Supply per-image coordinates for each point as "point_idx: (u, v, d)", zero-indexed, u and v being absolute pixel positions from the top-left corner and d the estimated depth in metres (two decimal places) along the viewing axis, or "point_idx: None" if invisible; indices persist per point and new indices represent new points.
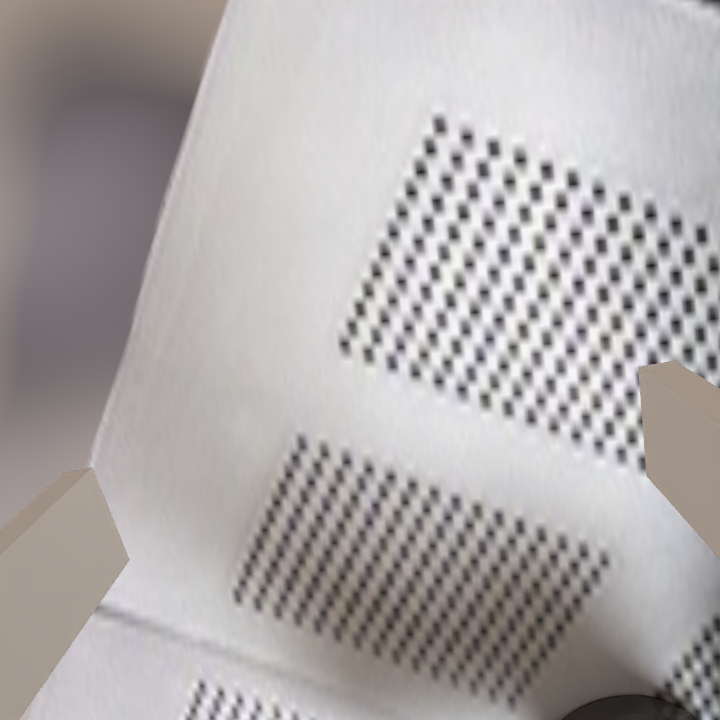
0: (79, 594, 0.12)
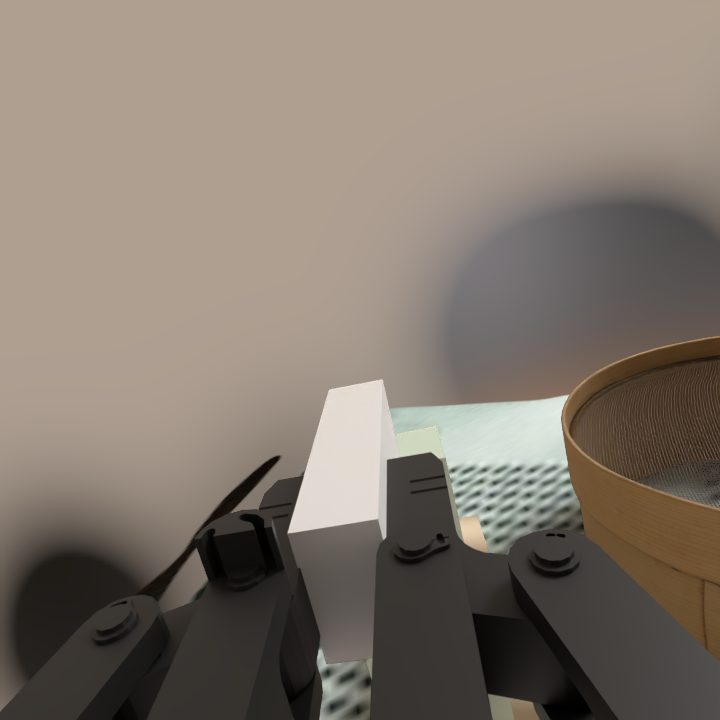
0: None
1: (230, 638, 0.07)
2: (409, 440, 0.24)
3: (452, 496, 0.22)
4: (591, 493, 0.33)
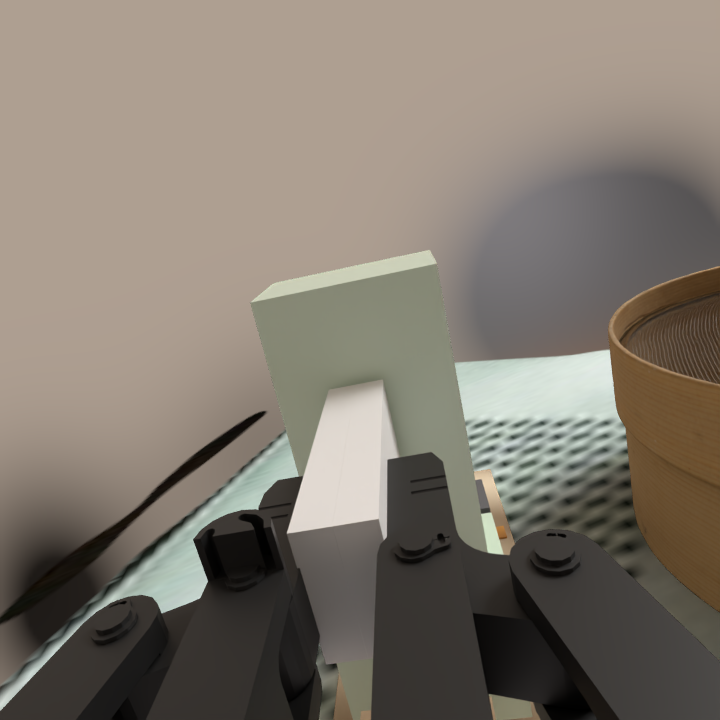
0: None
1: (230, 638, 0.07)
2: (387, 262, 0.16)
3: (446, 331, 0.15)
4: (652, 417, 0.24)
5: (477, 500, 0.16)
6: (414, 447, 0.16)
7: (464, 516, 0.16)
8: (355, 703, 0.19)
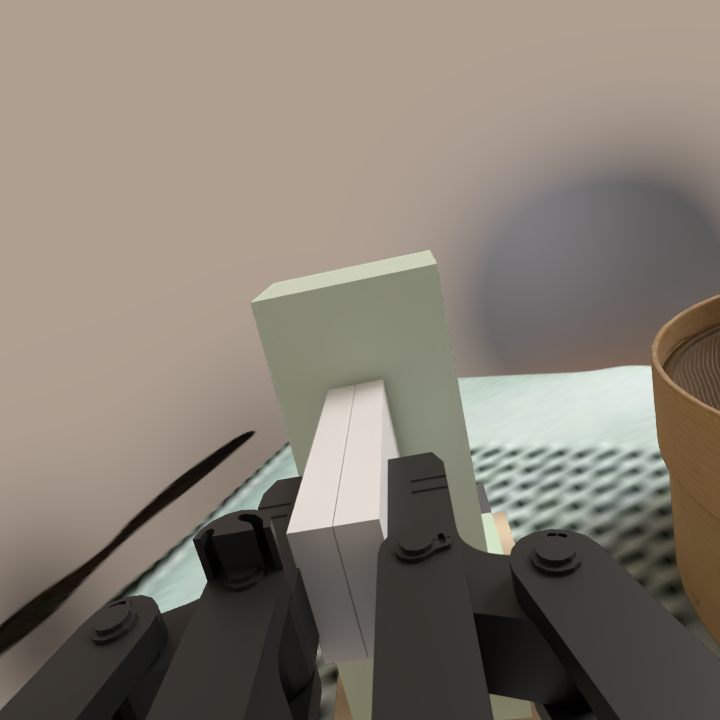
0: None
1: (229, 638, 0.07)
2: (387, 262, 0.16)
3: (446, 331, 0.15)
4: (718, 477, 0.19)
5: (477, 500, 0.16)
6: (414, 447, 0.16)
7: (464, 516, 0.16)
8: (355, 703, 0.19)
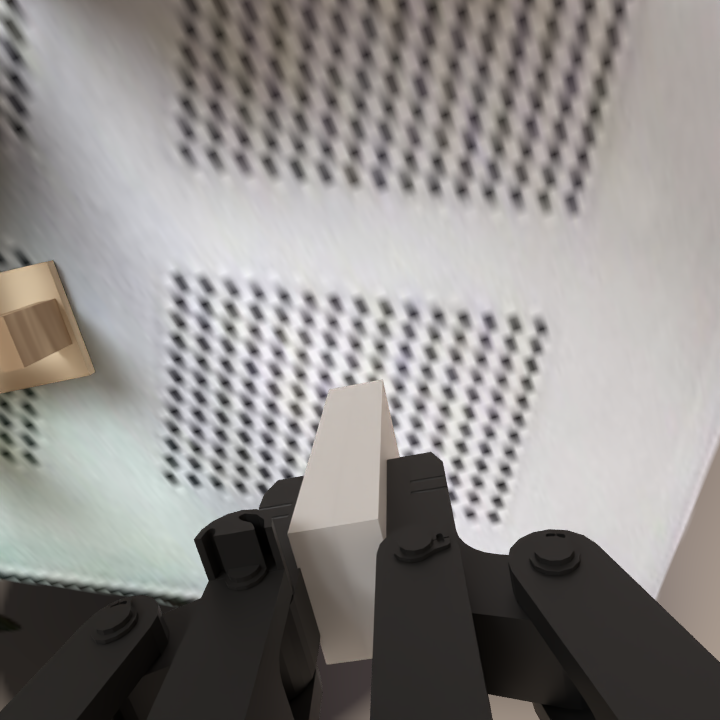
0: None
1: (230, 638, 0.07)
2: None
3: None
4: None
5: None
6: None
7: None
8: None
